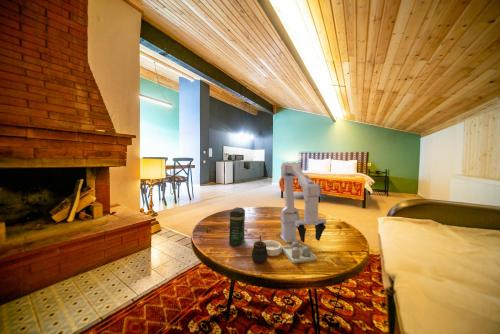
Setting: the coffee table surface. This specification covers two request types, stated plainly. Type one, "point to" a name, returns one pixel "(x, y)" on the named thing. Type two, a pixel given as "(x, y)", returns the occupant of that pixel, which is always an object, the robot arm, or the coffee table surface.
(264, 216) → the coffee table surface
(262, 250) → the mate gourd
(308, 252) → the pebble
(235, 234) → the coffee jar
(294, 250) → the pebble
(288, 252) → the tray
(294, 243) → the grey rounded cylinder
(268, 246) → the bowl
